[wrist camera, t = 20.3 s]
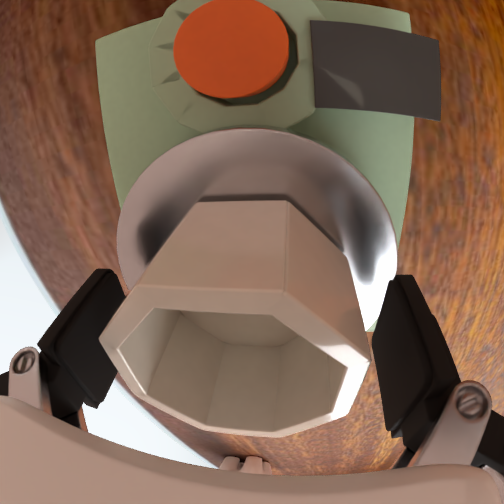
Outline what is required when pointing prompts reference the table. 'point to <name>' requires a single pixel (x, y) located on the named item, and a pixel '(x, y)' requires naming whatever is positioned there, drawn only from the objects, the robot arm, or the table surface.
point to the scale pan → (298, 159)
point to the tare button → (231, 48)
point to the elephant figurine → (246, 465)
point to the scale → (244, 100)
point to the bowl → (243, 323)
